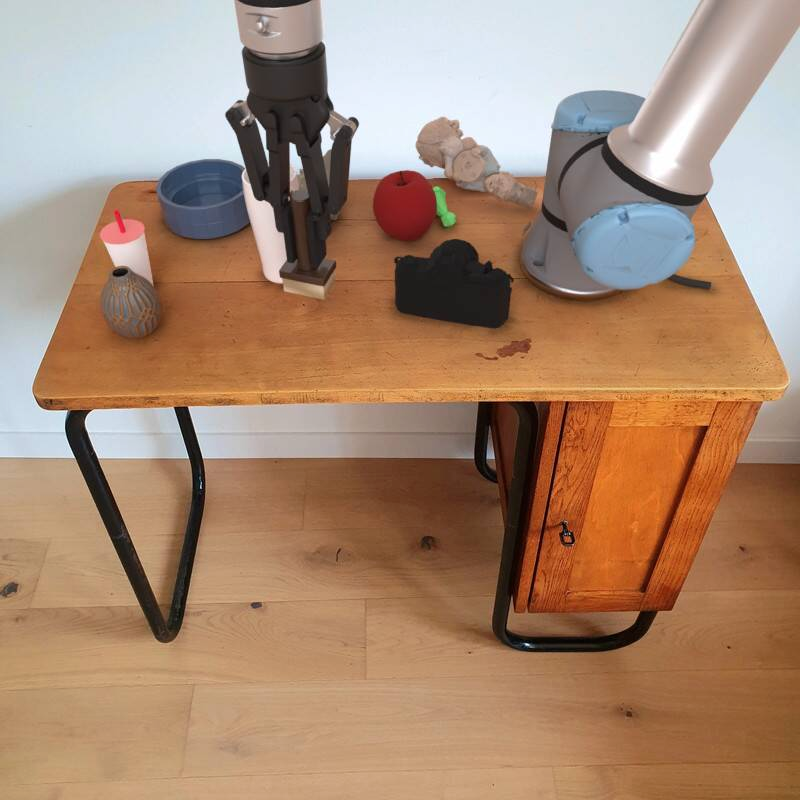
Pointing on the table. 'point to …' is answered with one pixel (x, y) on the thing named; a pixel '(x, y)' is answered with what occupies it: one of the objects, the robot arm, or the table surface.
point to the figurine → (469, 163)
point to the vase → (130, 303)
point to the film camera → (453, 286)
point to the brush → (305, 256)
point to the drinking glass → (267, 228)
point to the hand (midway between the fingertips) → (307, 257)
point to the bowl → (203, 198)
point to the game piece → (443, 208)
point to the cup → (127, 245)
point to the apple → (405, 205)
